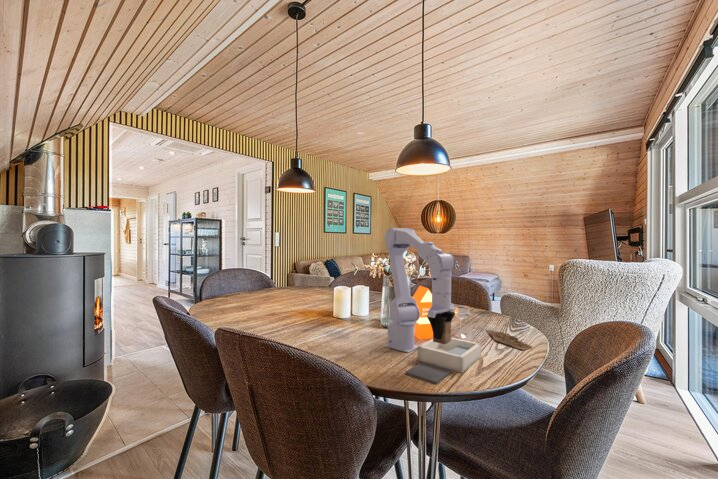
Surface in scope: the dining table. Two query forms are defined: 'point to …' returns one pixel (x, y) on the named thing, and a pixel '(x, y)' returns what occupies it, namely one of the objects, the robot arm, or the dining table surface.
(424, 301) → the orange juice
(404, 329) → the robot arm
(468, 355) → the box
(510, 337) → the wooden fragment
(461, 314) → the wineglass
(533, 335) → the dining table surface
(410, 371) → the place mat
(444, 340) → the walnut block
